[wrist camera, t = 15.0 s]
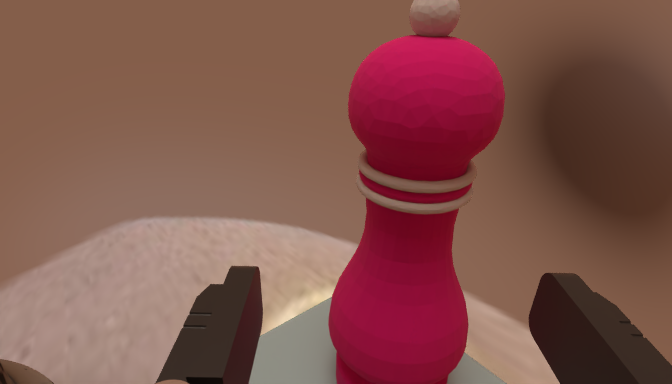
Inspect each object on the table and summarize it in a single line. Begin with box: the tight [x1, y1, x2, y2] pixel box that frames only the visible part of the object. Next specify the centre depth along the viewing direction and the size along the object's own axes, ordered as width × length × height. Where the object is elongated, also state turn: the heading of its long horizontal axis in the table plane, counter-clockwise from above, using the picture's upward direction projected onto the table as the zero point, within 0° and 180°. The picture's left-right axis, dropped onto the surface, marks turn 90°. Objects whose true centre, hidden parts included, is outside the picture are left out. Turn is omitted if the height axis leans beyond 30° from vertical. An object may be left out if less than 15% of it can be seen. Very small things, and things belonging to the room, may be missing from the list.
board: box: [249, 297, 507, 384], centre depth 23 cm, size 12×12×1 cm
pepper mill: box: [328, 0, 505, 384], centre depth 18 cm, size 7×7×20 cm
